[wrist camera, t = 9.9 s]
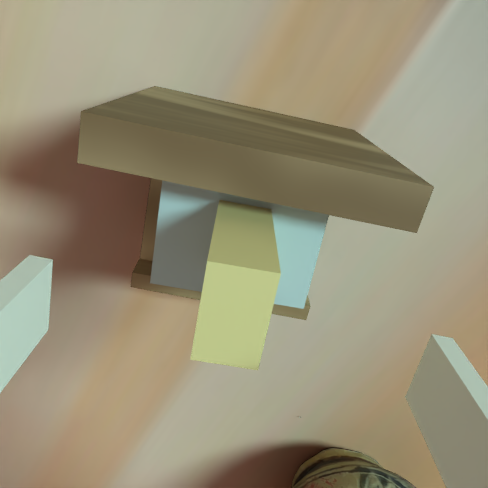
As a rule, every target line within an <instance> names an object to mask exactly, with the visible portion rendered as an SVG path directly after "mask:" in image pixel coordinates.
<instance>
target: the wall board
mask: <svg viewBox="0 0 488 488" xmlns="http://www.w3.org/2000/svg"><path fill="white" fill-rule="evenodd" d="M77 163H80V164H85V165H90V166H95V167H100V168H104V169H109V170H114V171H119V172H124V173H129V174H134V175H138V176H143V177H148V178H151V181H150V188H149V195H148V202H147V210H146V217H145V224H144V231H143V239H142V246H141V253H140V259H139V261H138V263H137V265H136V267H135V269H134V270H133V272H132V280H131V287H134V288H139V289H144V290H150V291H155V292H160V293H166V294H171V295H176V296H181V297H187V298H192V299H197V300H201V294H202V292H199V291H193V290H187V289H181V288H176V287H170V286H164V285H158V284H152V283H150V279H151V271H152V262H153V254H154V246H155V238H156V229H157V221H158V213H159V204H160V196H161V188H162V180H163V181H167V182H172V183H177V184H182V185H187V186H192V187H196V188H201V189H206V190H211V191H216V192H221V193H225V194H230V195H235V196H240V197H245V198H250V199H255V200H259V201H264V202H269V203H274V204H279V205H284V206H288V207H293V208H298V209H303V210H308V211H313V212H317V213H322V214H327V215H332V216H337V217H342V218H346V219H351V220H356V221H361V222H366V223H371V224H376V225H380V226H385V227H390V228H395V229H400V230H405V231H409V232H414V233H417V231H418V228H419V226H420V223H421V220H422V218H423V215H424V212H425V210H426V207H427V204H428V202H429V199H430V196H431V194H432V191H433V189H434V187H433V186H432V185H430V184H429V183H428V182H426V181H425V180H423V179H422V178H421V177H419V176H418V175H416V174H415V173H414V172H412V171H411V170H409V169H408V168H407V167H405V166H404V165H402V164H401V163H400V162H398V161H397V160H395V159H394V158H393V157H391V156H390V155H388V154H387V153H386V152H384V151H383V150H381V149H380V148H379V147H377V146H376V145H374V144H373V143H372V142H370V141H369V140H367V139H366V138H365V137H363V136H362V135H360V134H359V133H358V132H356V131H355V130H351V129H347V128H342V127H338V126H333V125H329V124H324V123H320V122H315V121H311V120H306V119H302V118H297V117H293V116H288V115H283V114H279V113H274V112H270V111H265V110H261V109H256V108H252V107H247V106H243V105H238V104H234V103H229V102H225V101H220V100H216V99H211V98H207V97H202V96H197V95H193V94H188V93H184V92H179V91H175V90H170V89H166V88H161V87H157V86H154V87H151V88H148V89H145V90H142V91H139V92H137V93H134V94H131V95H128V96H125V97H122V98H119V99H116V100H113V101H110V102H107V103H104V104H101V105H98V106H95V107H92V108H90V109H87V110H84V111H81V120H80V133H79V146H78V159H77ZM328 217H329V216H328ZM309 309H310V303H309V299H308V295H307V298H306V302H305V306H304V309H301V308H295V307H289V306H283V305H277V304H274V305H273V309H272V313H271V314H276V315H282V316H287V317H292V318H298V319H303V320H306V319H307V316H308V312H309Z"/></svg>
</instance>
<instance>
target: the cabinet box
mask: <svg viewBox="0 0 488 488" xmlns="http://www.w3.org/2000/svg"><path fill="white" fill-rule="evenodd" d="M328 216H329V215H327V214H322V213H317V212H313V211H308V210H303V209H298V208H293V207H288V206H284V205H279V204H274V203H269V202H264V201H259V200H255V199H250V198H245V197H240V196H235V195H230V194H225V193H221V192H216V191H211V190H206V189H201V188H196V187H192V186H187V185H182V184H177V183H172V182H167V181H163V180H162V188H161V196H160V204H159V213H158V221H157V229H156V238H155V246H154V254H153V262H152V271H151V279H150V283H152V284H158V285H164V286H170V287H176V288H181V289H187V290H193V291H199V292H202V294H201V300H200V306H199V312H198V318H197V324H196V330H195V336H194V342H193V347H192V353H191V359H190V360H196V361H203V362H209V363H215V364H222V365H228V366H234V367H241V368H247V369H253V370H258V368H259V364H260V359H261V355H262V351H263V347H264V343H265V338H266V334H267V330H268V326H269V322H270V317H271V313H272V309H273V305H274V304H277V305H283V306H289V307H295V308H301V309H304V306H305V302H306V298H307V295H308V291H309V287H310V283H311V280H312V276H313V272H314V268H315V265H316V261H317V257H318V253H319V250H320V246H321V242H322V239H323V235H324V231H325V227H326V224H327V220H328Z"/></svg>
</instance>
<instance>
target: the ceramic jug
mask: <svg viewBox="0 0 488 488" xmlns="http://www.w3.org/2000/svg"><path fill="white" fill-rule="evenodd" d="M292 488H416V487H415V486H413V485H412V484H411V483H410V482H408V481H407V480H406V479H404V478H402V477H401V476H399V475H398V474H395V473H393V472H390V471H388V470H385V469H384V468H383V467H382V466H380V465H379V464H378V462H377V461H376V460H374V459H372V458H371V457H369V456H366V455H364V454H362V453H359V452H355V451H350V450H345V449H338V448H330V449H326V450H323V451H321V452H320V453H318V454H317V455H315V456H314V457H312V458H310V459H309V460H307V461H306V462H304V463H303V464H302V465H301V466H300V467H299V469H298V471H297V473H296V475H295V477H294V479H293V482H292Z"/></svg>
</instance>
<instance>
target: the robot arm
mask: <svg viewBox="0 0 488 488" xmlns="http://www.w3.org/2000/svg"><path fill="white" fill-rule="evenodd" d="M52 266H53V259H48V258H43V257H38V256H32V255H29V256H28V257H27V258H26V259H24V260H23V261H22V262H21V263H20V264H19V265H17V266H16V267H15V268H14V269H13V270H12V271H11V272H9V273H8V274H7V275H6V276H5V277H4V278H2V279H1V280H0V393H1V391H2V390H3V389H4V387H5V386H6V385H7V383H8V382H9V381H10V379H11V378H12V377H13V376H14V374H15V373H16V372H17V370H18V369H19V368H20V366H21V365H22V364H23V362H24V361H25V360H26V358H27V357H28V356H29V355H30V353H31V352H32V351H33V349H34V348H35V347H36V345H37V344H38V343H39V341H40V340H41V339H42V337H43V336H44V335H45V334H46V332H47V331H48V328H49V312H50V297H51V281H52ZM405 397H406V400H407V402H408V404H409V406H410V408H411V411H412V413H413V415H414V417H415V419H416V422H417V424H418V426H419V428H420V430H421V433H422V435H423V437H424V439H425V442H426V444H427V446H428V448H429V450H430V453H431V455H432V457H433V459H434V461H435V464H436V466H437V468H438V470H439V472H440V475H441V477H442V479H443V481H444V483H445V486H446V488H488V387H487V385H486V384H485V382H484V381H483V380H482V378H481V377H480V376H479V374H478V373H477V371H476V370H475V369H474V367H473V366H472V364H471V363H470V362H469V360H468V359H467V357H466V356H465V355H464V353H463V352H462V351H461V349H460V348H459V346H458V345H457V344H456V342H455V341H454V339H453V338H449V337H444V336H438V335H433V334H432V335H431V337H430V339H429V342H428V344H427V347H426V349H425V351H424V354H423V356H422V358H421V361H420V363H419V365H418V368H417V370H416V373H415V375H414V377H413V380H412V382H411V384H410V387H409V389H408V391H407V394H406V396H405Z"/></svg>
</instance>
